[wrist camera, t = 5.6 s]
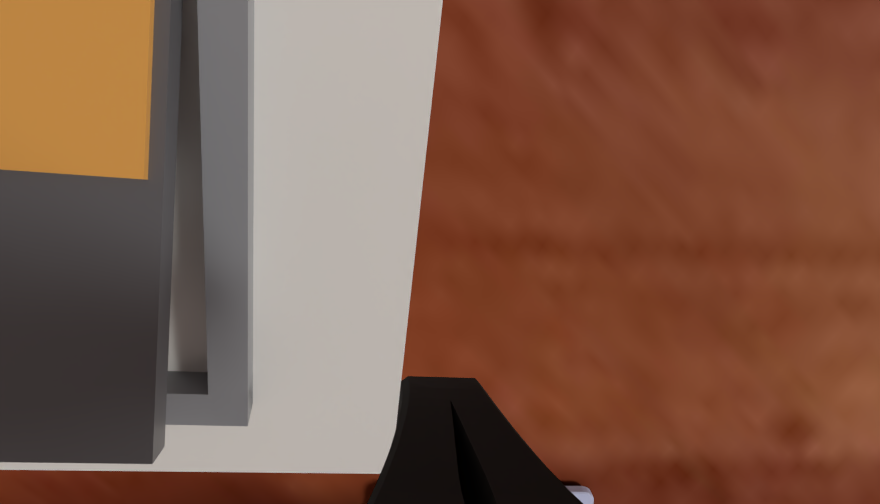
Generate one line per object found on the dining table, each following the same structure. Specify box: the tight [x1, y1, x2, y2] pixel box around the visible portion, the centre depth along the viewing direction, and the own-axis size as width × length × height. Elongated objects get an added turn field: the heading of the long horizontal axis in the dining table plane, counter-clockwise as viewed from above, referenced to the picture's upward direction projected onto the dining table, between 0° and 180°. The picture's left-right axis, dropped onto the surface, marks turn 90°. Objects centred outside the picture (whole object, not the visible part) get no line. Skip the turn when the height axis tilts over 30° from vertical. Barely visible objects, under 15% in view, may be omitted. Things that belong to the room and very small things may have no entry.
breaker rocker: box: [0, 0, 183, 464], centre depth 14 cm, size 10×5×1 cm, turn 173°
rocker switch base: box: [0, 0, 443, 474], centre depth 17 cm, size 18×16×4 cm
